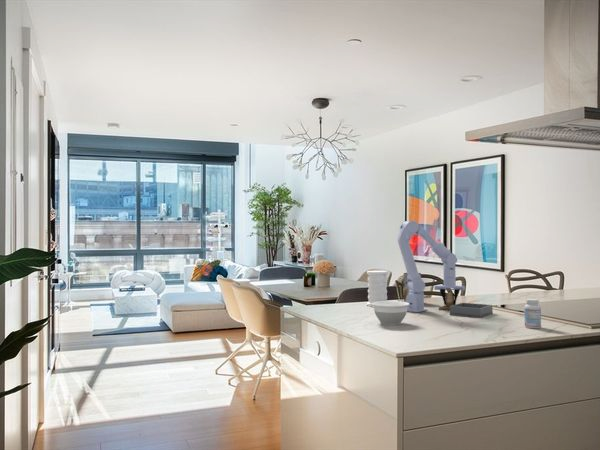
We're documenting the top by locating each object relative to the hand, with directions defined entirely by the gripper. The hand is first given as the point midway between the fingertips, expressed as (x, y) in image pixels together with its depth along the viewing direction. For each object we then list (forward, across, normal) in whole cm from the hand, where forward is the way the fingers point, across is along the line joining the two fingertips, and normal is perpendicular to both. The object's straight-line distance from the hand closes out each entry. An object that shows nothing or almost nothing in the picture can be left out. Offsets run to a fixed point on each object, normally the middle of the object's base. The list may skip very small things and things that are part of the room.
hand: (449, 304), depth 271 cm
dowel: (+2, 0, 0) cm, 2 cm away
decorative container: (+3, +37, -7) cm, 38 cm away
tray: (+2, -10, +13) cm, 16 cm away
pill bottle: (+3, -34, +43) cm, 54 cm away
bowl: (+3, +23, +46) cm, 51 cm away
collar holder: (+2, 0, 0) cm, 2 cm away
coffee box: (+3, +20, -22) cm, 30 cm away
